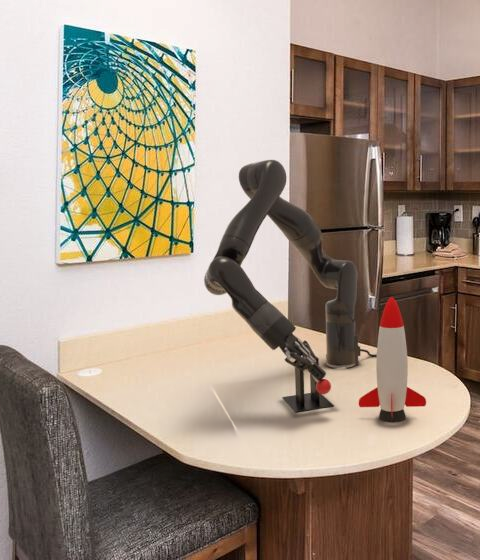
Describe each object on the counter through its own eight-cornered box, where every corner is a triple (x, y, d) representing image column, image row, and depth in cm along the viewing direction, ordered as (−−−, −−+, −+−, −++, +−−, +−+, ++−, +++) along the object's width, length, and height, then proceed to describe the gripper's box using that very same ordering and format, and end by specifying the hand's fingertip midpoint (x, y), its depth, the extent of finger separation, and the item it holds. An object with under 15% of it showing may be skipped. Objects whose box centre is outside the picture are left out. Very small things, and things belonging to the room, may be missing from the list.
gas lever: (333, 395, 145) (333, 381, 144) (318, 398, 143) (318, 384, 142) (311, 367, 159) (311, 354, 158) (298, 369, 157) (298, 356, 156)
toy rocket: (358, 425, 146) (357, 298, 148) (392, 419, 154) (390, 299, 156) (393, 430, 138) (392, 296, 140) (426, 424, 146) (424, 297, 148)
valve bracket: (334, 410, 155) (333, 360, 153) (295, 416, 151) (294, 365, 149) (318, 395, 166) (317, 349, 164) (282, 401, 161) (280, 353, 160)
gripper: (273, 320, 137) (327, 375, 138) (289, 309, 150) (339, 359, 150) (251, 342, 139) (305, 397, 139) (269, 330, 152) (318, 379, 152)
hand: (323, 377), depth 145 cm, fingers closed
